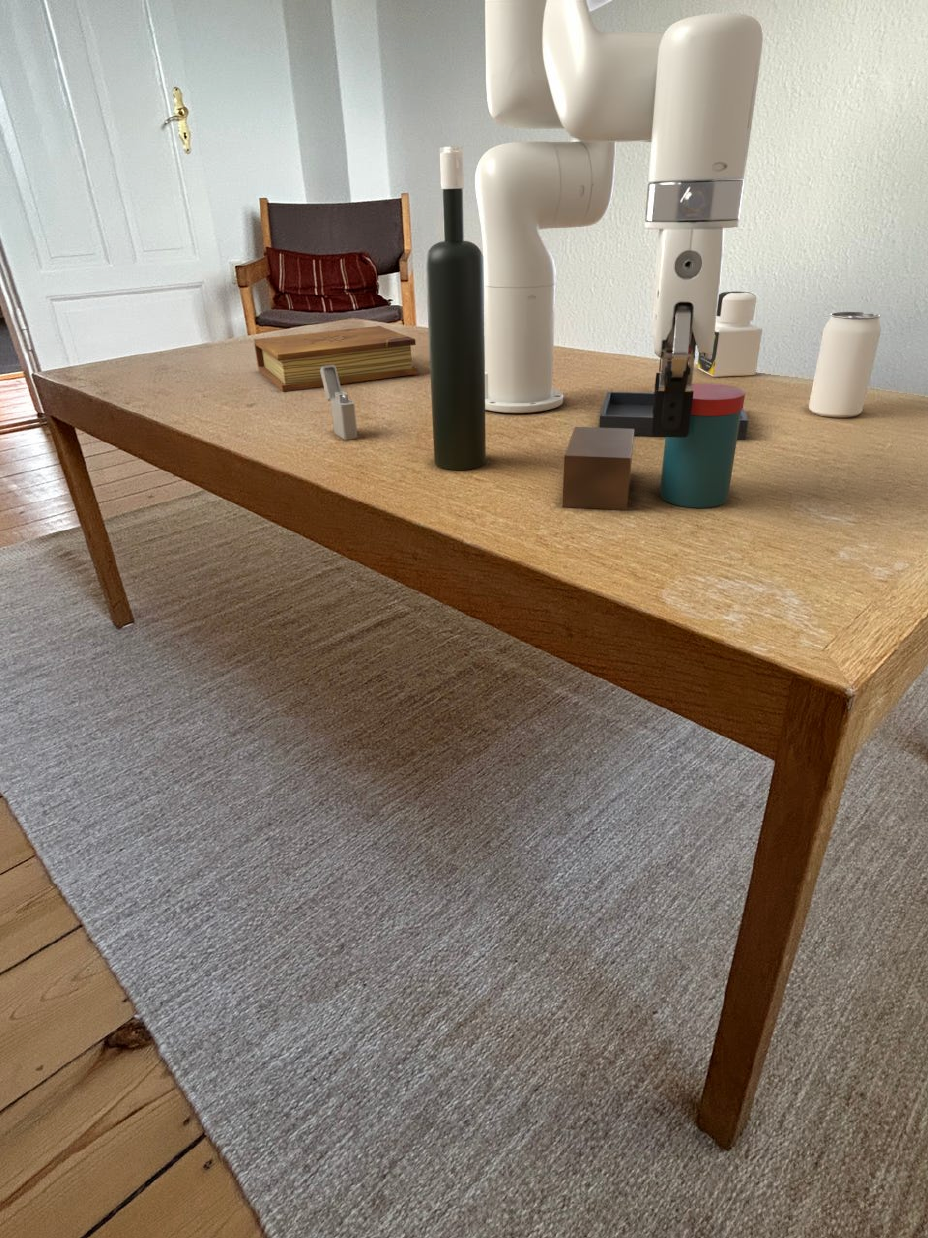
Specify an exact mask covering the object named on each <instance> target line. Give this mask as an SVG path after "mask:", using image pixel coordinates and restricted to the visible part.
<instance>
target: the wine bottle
mask: <svg viewBox="0 0 928 1238" xmlns="http://www.w3.org/2000/svg"><path fill="white" fill-rule="evenodd" d="M439 170H440V190H441V198H442V200H441V202H442V226H443V227H442V228H443V241H439V242H436V243H433V245H432V246H431V247H430V248H429V250H428V251H427V253H426V256H425V262H424V263H425V284H426V305H427V306H426V307H427V329H428V331H427V332H428V349H429V353H428V354H429V371H430V372H429V373H430V375H429V376H430V395H431V396H430V397H431V416H432V418H431V419H432V436H433V437H432V439H433V440H432V441H433V459H434V461H433V462H434V465H435V466H436V467H438V468H440V469H443V470H447V471H449V470H450V471H468V470H474V469H477V468H481V467H482V466H484V465H485V464H486V463H487V450H486V447H487V445H486V443H487V441H486V410H485V325H484V260H483V251H481V249H480V248H479V246H477V245H476V243H474V242H472V241H469V240H465V232H464V231H465V230H464V227H465V226H464V191H463V190H464V188H465V186H464V182H465V181H464V148H463V146H456V145H455V146H453V145H452V146H451V145H450V146H440V147H439Z"/></svg>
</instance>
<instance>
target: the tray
mask: <svg viewBox="0 0 928 1238" xmlns="http://www.w3.org/2000/svg"><path fill="white" fill-rule="evenodd" d="M653 401H654V392H639V391H638V392H637V391H606V393H605V396H604V400H603V405H602V407H601V411H600V413H599V424H598V428H625V429H634V437H654V436H653V435H652V422H653ZM748 426H749V418H748V416H747V413H746V410H745V408H744V407H743V409H742V410H741V417H740V423H739V430H738V436H737V440H744V441H745V440H746V439H747V432H748Z"/></svg>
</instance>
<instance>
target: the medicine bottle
mask: <svg viewBox="0 0 928 1238" xmlns="http://www.w3.org/2000/svg"><path fill="white" fill-rule="evenodd" d="M756 303H757V296H756V295H755V294H753V293H751V292H748V291H736V290H735V291H723V292H720V293H719V299H718V307H717V316H716V325H715V334H714V344H713V354H712V355H711V356H710V357H708V358H704V356H703V353H699V352H698V358H697V364H696V365H697V367H696V368H697V369H698V370H699V371H701V372H703V373H705V374H706V375H708V376H710V377H712V378H719V377H721V378H722V377H741V376H742V377H745V376H755V375H756V372H757V367H758V360H759V354H760V349H761V348H760V347H761V342H762V335H763V328H762V327H760V326H757V325H753V324H751V323H752V322H753V321H754V315H755V310H756V309H755V308H756Z"/></svg>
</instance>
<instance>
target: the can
mask: <svg viewBox="0 0 928 1238" xmlns="http://www.w3.org/2000/svg"><path fill="white" fill-rule="evenodd" d="M829 316H830V318H829V319H828V321H827V322H826V324H825V325H824V328H823V332H822V337H821V342H820V346H819V352H818V356H817V361H816V367H815V371H814V377H813V382H812V387H811V391H810V397H809V403H808V410H809V411H810V413H811V414H814V415H816V416H820V417H826V418H834V419H849V418H855V417H857V416H859V415H860V414H861V413H862V412H863V411H864V406H865V401H866V397H867V394H868V389H869V385H870V381H871V376H872V371H873V367H874V363H875V359H876V355H877V350H878V345H879V340H880V337H881V332H882V331H881V330H882V326H881V323H880V318H881V315H880V314H878V313H874V312H868V311H867V312H866V311H836V312H832V313H830V315H829Z"/></svg>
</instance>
